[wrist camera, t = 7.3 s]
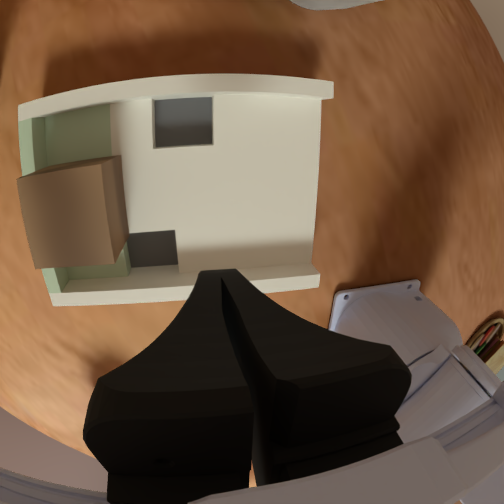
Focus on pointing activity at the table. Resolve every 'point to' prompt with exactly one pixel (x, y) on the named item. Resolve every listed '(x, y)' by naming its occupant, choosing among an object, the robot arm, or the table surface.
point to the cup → (331, 4)
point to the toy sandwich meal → (489, 344)
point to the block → (75, 213)
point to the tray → (191, 179)
